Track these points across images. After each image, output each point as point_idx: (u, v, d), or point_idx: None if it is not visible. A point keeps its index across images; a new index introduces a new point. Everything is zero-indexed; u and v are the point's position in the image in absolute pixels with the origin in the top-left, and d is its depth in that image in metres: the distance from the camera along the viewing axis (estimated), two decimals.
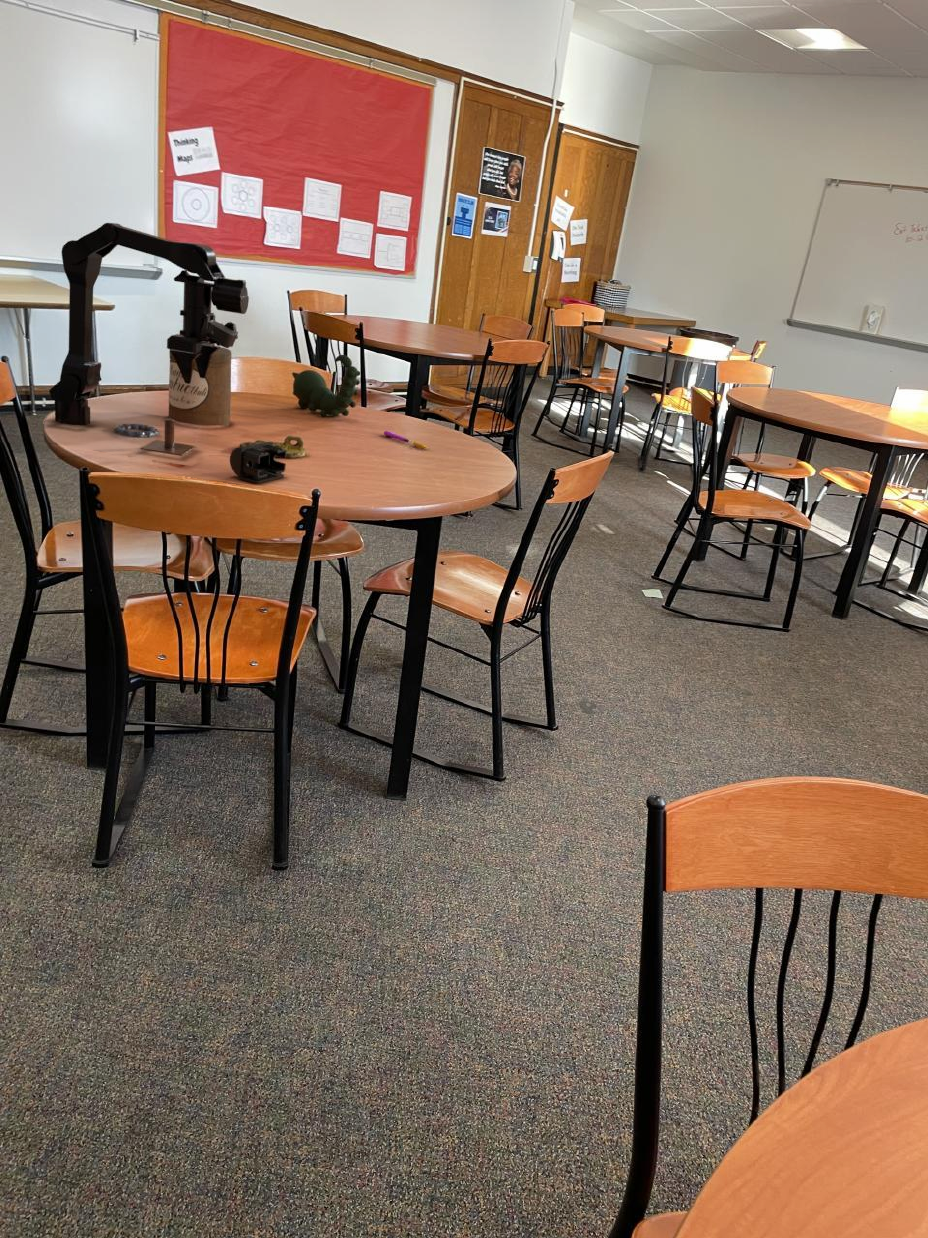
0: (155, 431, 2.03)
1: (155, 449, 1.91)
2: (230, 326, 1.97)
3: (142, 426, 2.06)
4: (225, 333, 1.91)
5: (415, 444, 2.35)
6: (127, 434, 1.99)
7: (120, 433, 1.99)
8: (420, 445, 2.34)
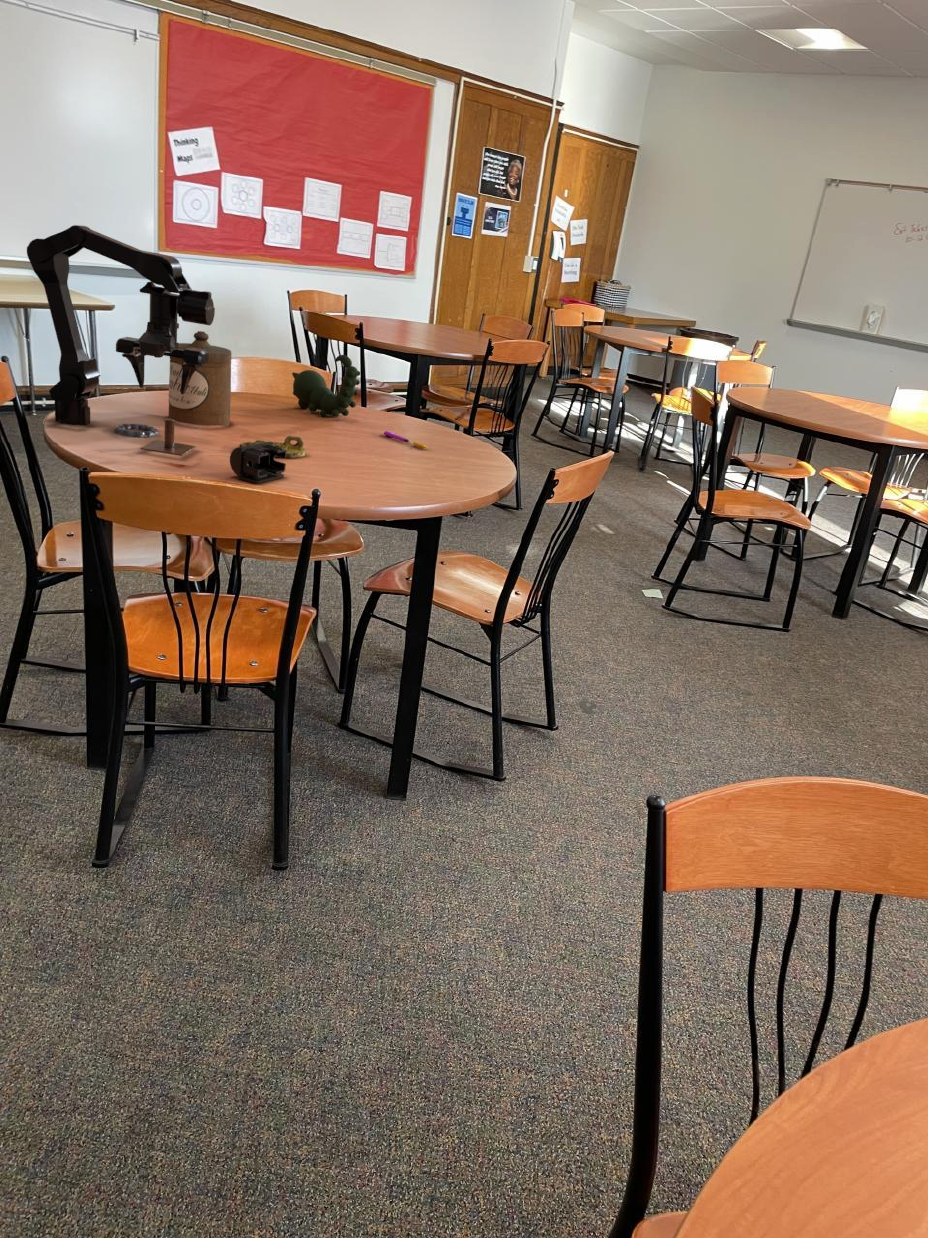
0: (155, 431, 2.03)
1: (155, 449, 1.91)
2: None
3: (142, 426, 2.06)
4: None
5: (415, 444, 2.35)
6: (127, 434, 1.99)
7: (120, 433, 1.99)
8: (420, 445, 2.34)
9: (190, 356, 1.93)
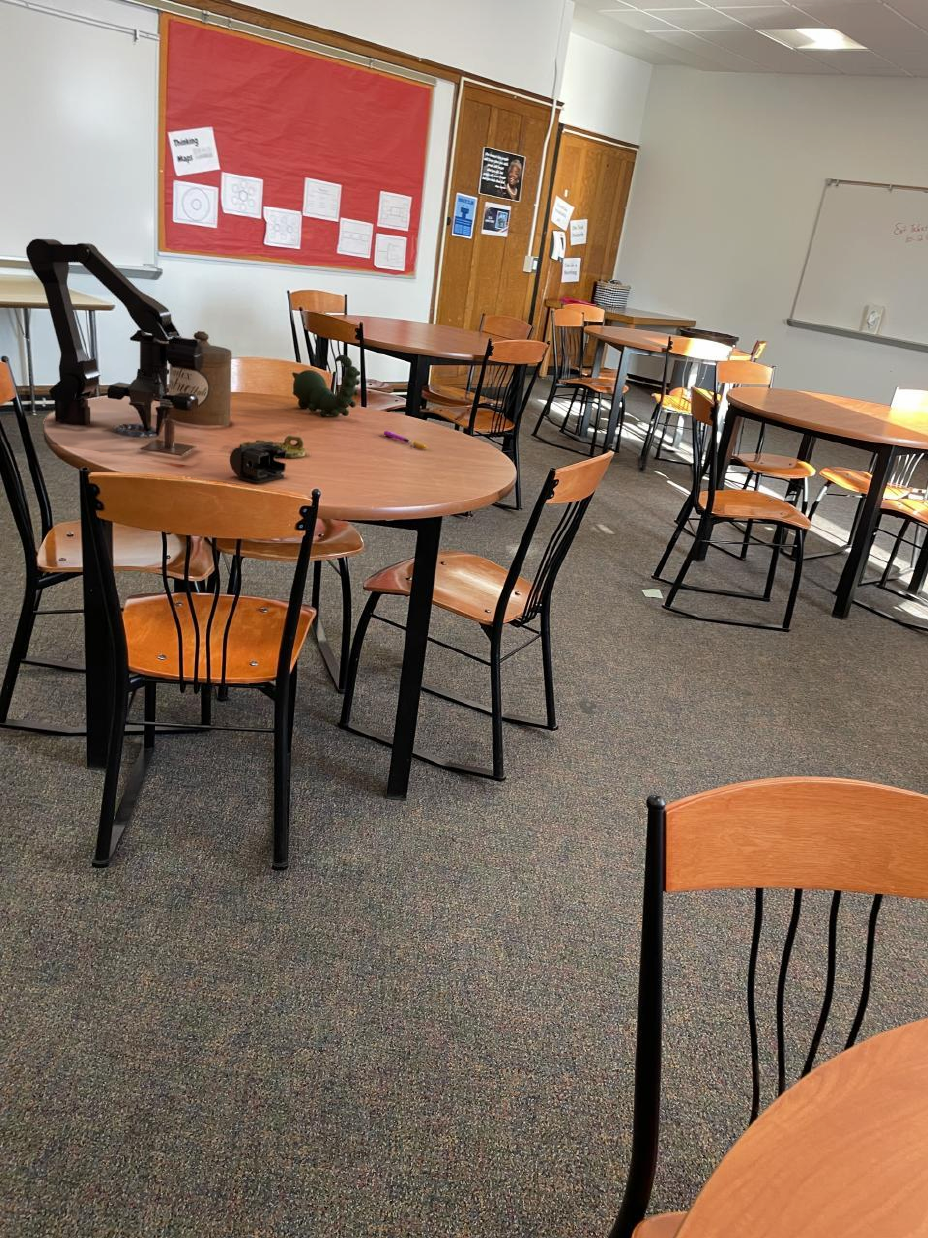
0: (155, 431, 2.03)
1: (155, 449, 1.91)
2: None
3: (142, 426, 2.06)
4: None
5: (415, 444, 2.35)
6: (127, 434, 1.99)
7: (120, 433, 1.99)
8: (420, 445, 2.34)
9: (179, 401, 1.97)
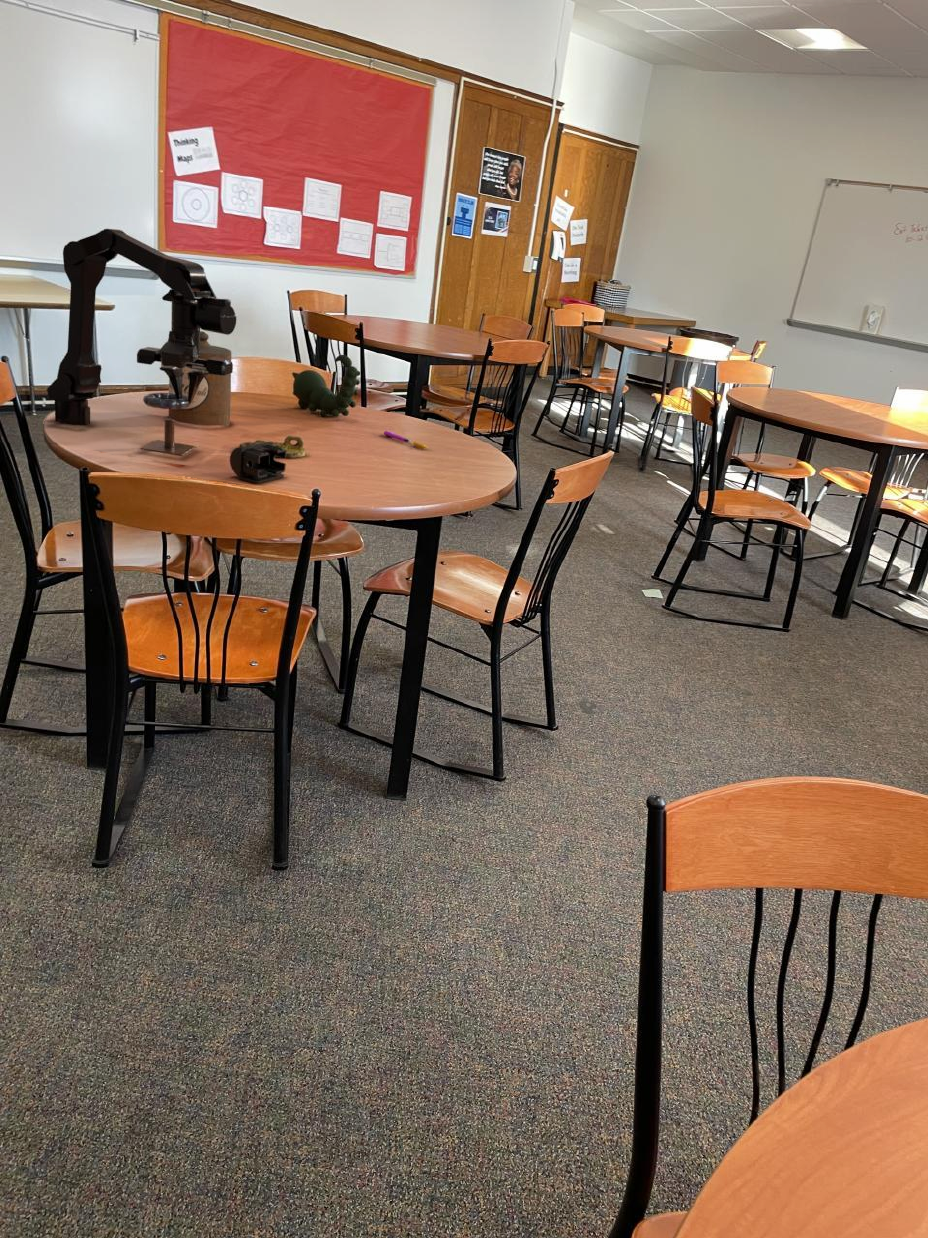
0: (187, 398, 1.92)
1: (155, 449, 1.91)
2: None
3: (172, 395, 1.95)
4: None
5: (415, 444, 2.35)
6: (158, 402, 1.88)
7: (150, 401, 1.88)
8: (420, 445, 2.34)
9: (214, 366, 1.85)
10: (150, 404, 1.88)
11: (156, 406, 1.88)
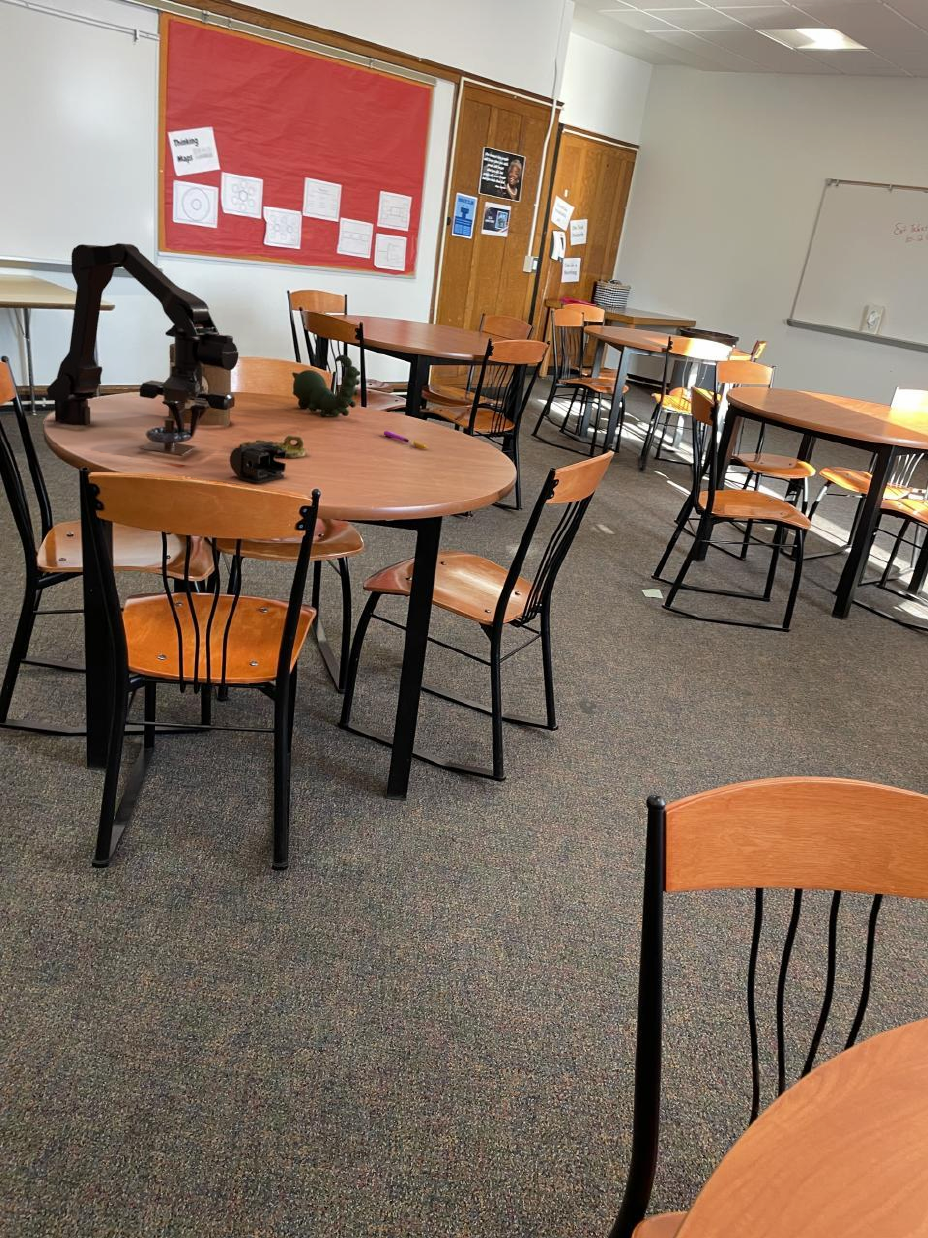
0: (189, 432, 1.93)
1: (155, 449, 1.91)
2: None
3: (175, 428, 1.97)
4: None
5: (415, 444, 2.35)
6: (160, 437, 1.89)
7: (153, 436, 1.90)
8: (420, 445, 2.34)
9: (216, 400, 1.87)
10: (153, 439, 1.90)
11: (159, 441, 1.90)
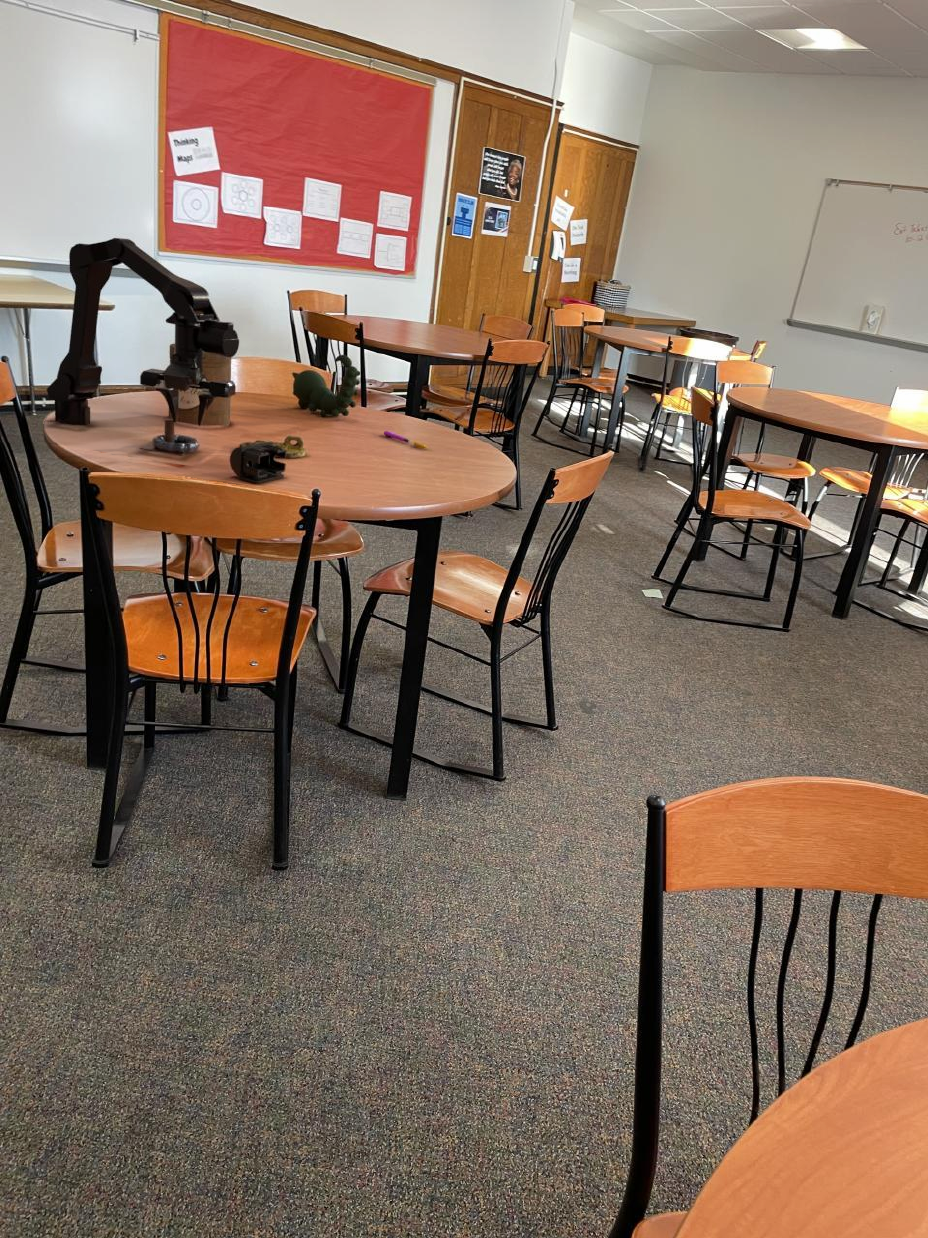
0: (195, 442, 1.94)
1: (155, 449, 1.91)
2: None
3: (181, 437, 1.97)
4: None
5: (415, 444, 2.35)
6: (167, 446, 1.90)
7: (159, 445, 1.90)
8: (420, 445, 2.34)
9: (216, 388, 1.86)
10: (159, 447, 1.91)
11: (165, 449, 1.90)
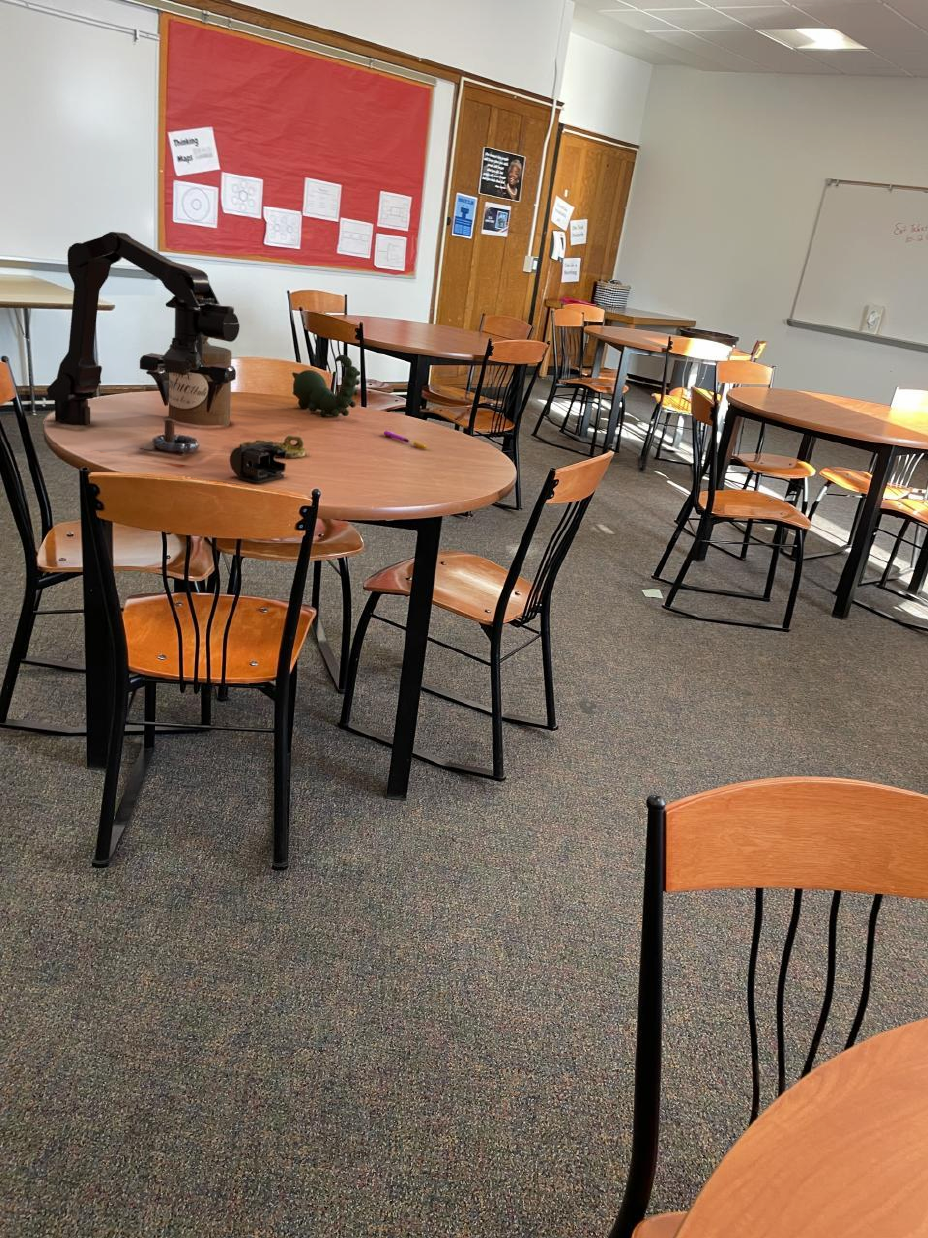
0: (195, 442, 1.94)
1: (155, 449, 1.91)
2: None
3: (181, 437, 1.97)
4: None
5: (415, 444, 2.35)
6: (167, 446, 1.90)
7: (159, 445, 1.90)
8: (420, 445, 2.34)
9: (216, 373, 1.85)
10: (159, 447, 1.91)
11: (165, 449, 1.90)
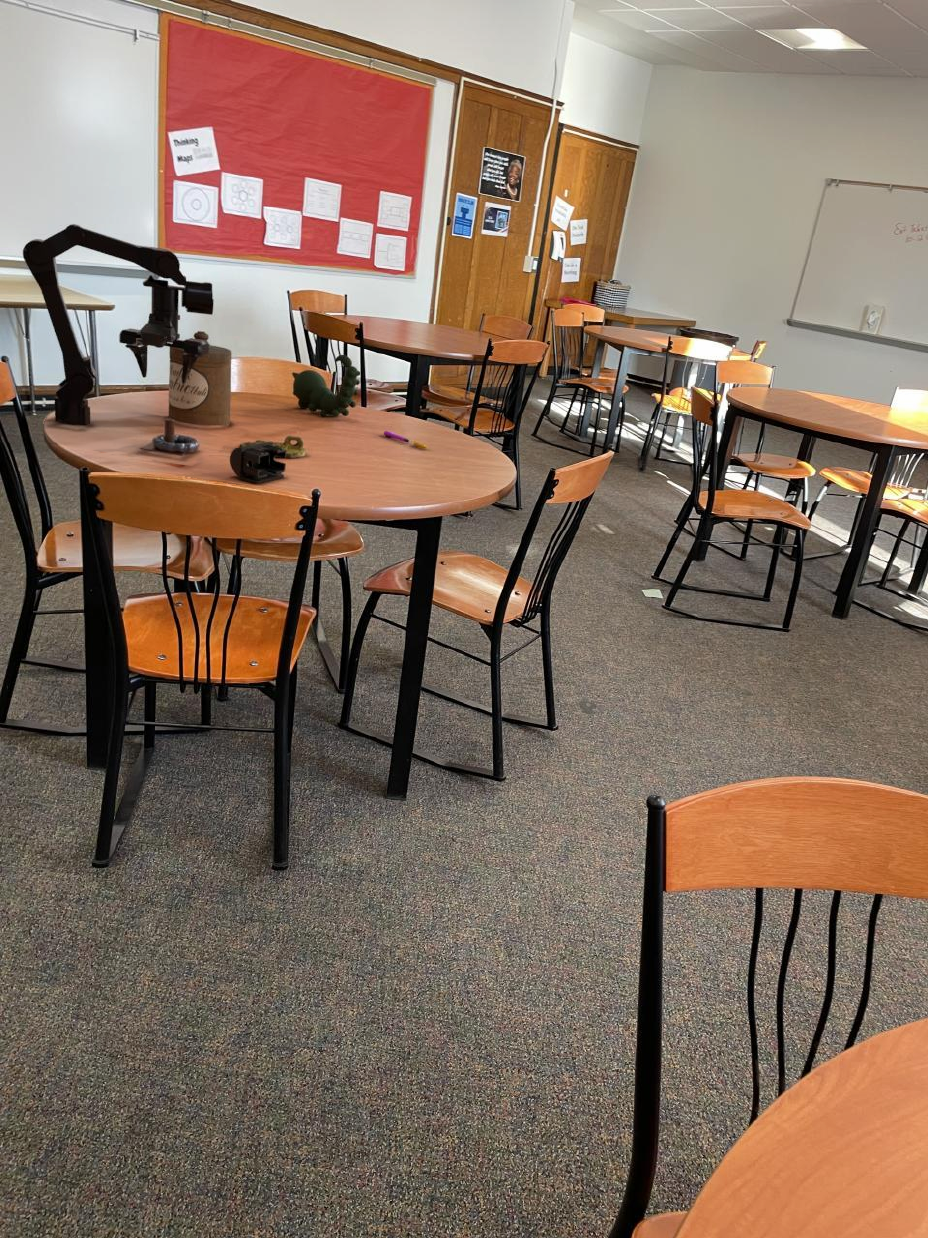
0: (195, 442, 1.94)
1: (155, 449, 1.91)
2: None
3: (181, 437, 1.97)
4: None
5: (415, 444, 2.35)
6: (167, 446, 1.90)
7: (159, 445, 1.90)
8: (420, 445, 2.34)
9: (190, 346, 2.00)
10: (159, 447, 1.91)
11: (165, 449, 1.90)
